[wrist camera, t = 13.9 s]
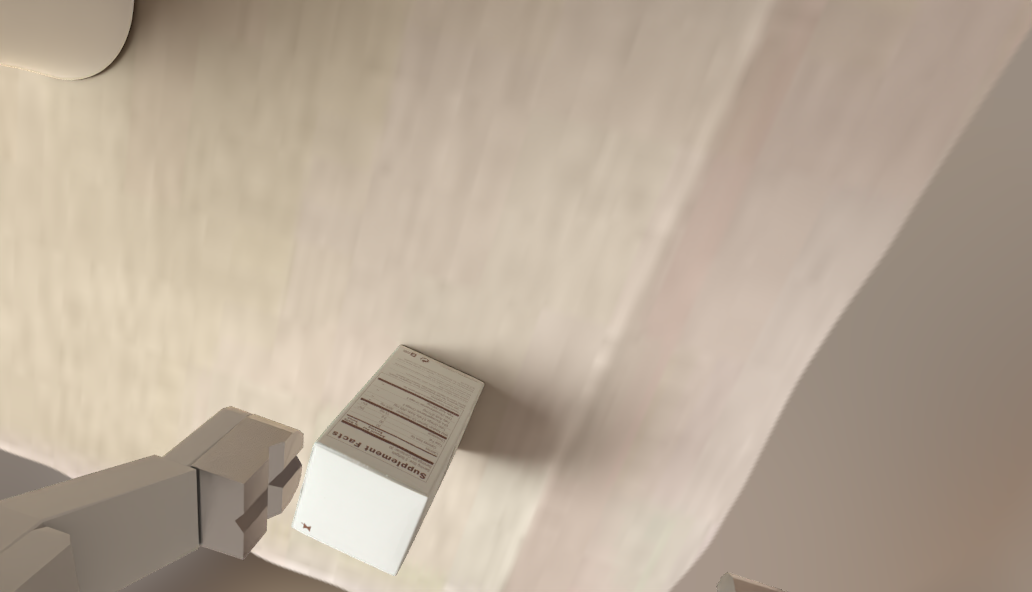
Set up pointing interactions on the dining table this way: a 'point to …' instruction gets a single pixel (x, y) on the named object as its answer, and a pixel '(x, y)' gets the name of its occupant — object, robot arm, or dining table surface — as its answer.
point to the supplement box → (386, 459)
